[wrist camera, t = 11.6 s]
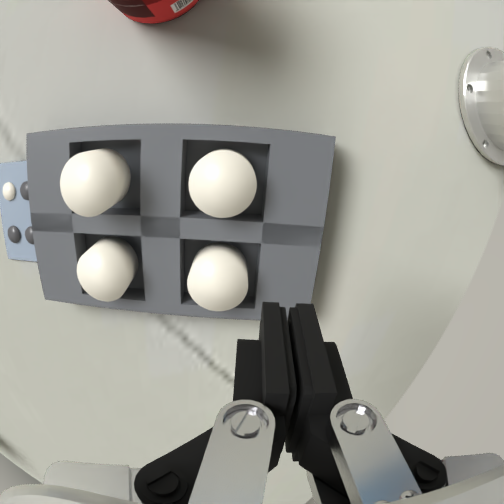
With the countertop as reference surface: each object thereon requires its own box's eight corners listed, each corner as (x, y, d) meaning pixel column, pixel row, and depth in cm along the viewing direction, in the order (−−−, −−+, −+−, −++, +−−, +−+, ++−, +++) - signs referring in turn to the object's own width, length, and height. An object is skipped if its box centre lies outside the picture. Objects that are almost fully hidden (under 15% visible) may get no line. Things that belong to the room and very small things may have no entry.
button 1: (131, 147, 20) (116, 150, 18) (131, 206, 22) (116, 218, 19) (79, 149, 20) (59, 153, 17) (80, 205, 22) (62, 216, 19)
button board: (324, 135, 23) (335, 136, 20) (301, 303, 29) (307, 321, 26) (-2, 138, 21) (-21, 142, 19) (14, 278, 27) (-1, 291, 24)
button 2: (136, 237, 24) (124, 251, 21) (140, 286, 26) (129, 304, 23) (89, 234, 24) (73, 247, 21) (94, 281, 25) (81, 298, 23)
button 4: (249, 244, 25) (250, 259, 22) (245, 293, 26) (245, 312, 24) (192, 240, 24) (186, 255, 22) (192, 290, 26) (187, 309, 23)
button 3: (257, 150, 22) (259, 153, 19) (252, 208, 24) (253, 219, 21) (196, 147, 22) (189, 149, 19) (193, 205, 23) (187, 215, 21)
